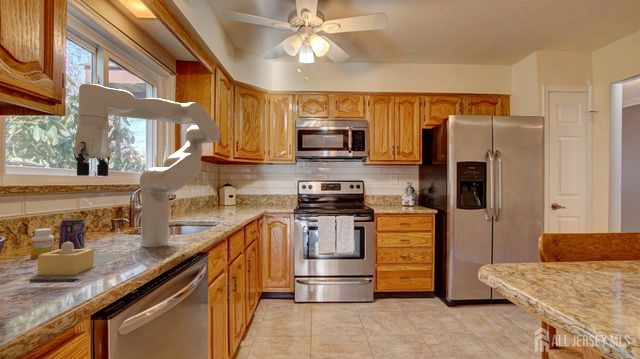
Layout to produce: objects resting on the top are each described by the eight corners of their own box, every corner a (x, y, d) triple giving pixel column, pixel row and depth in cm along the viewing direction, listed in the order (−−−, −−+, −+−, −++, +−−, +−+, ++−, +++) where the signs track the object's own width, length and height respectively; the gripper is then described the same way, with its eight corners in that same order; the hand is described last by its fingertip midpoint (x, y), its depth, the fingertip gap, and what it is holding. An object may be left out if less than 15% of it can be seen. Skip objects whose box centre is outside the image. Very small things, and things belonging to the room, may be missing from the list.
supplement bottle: (36, 257, 97) (37, 228, 98) (56, 256, 99) (57, 227, 99) (26, 261, 92) (27, 230, 92) (48, 260, 94) (49, 230, 94)
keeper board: (94, 258, 97) (95, 230, 97) (125, 258, 98) (126, 230, 98) (29, 282, 73) (31, 245, 74) (72, 282, 74) (73, 245, 74)
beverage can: (72, 254, 102) (73, 220, 102) (52, 254, 102) (54, 219, 103) (89, 250, 109) (90, 218, 110) (70, 249, 109) (71, 217, 110)
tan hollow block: (59, 267, 82) (59, 249, 82) (93, 266, 83) (93, 249, 83) (37, 274, 75) (38, 255, 75) (74, 274, 76) (75, 255, 76)
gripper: (98, 127, 103) (97, 176, 103) (60, 117, 86) (60, 175, 86) (120, 128, 104) (120, 176, 104) (88, 118, 87) (88, 175, 87)
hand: (93, 175), depth 95 cm, fingers open, 9 cm apart
